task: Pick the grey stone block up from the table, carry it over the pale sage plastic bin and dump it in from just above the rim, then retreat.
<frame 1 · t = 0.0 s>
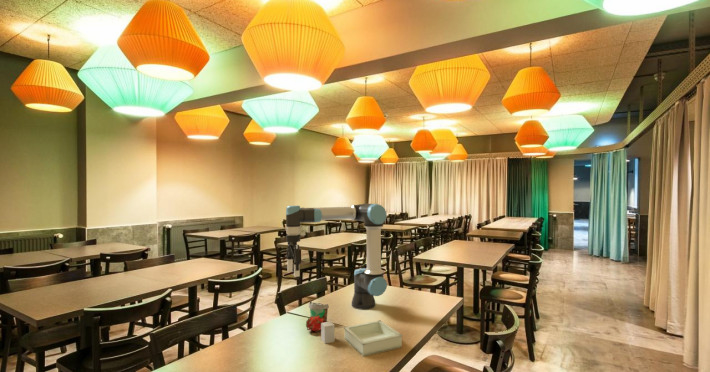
hand: (293, 273, 184), 28 cm above the table, fingers open, 13 cm apart
food container: (316, 322, 190), on the table
stone block: (327, 340, 166), on the table
dragon fruit: (316, 330, 178), on the table
bin: (372, 342, 163), on the table
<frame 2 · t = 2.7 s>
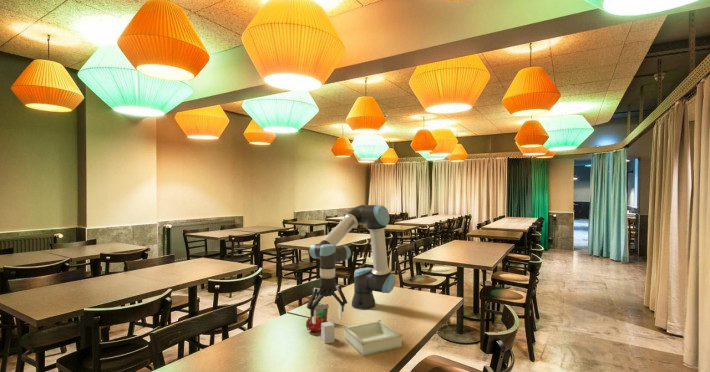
hand: (327, 320, 166), 9 cm above the table, fingers open, 13 cm apart
nothing on the table moved.
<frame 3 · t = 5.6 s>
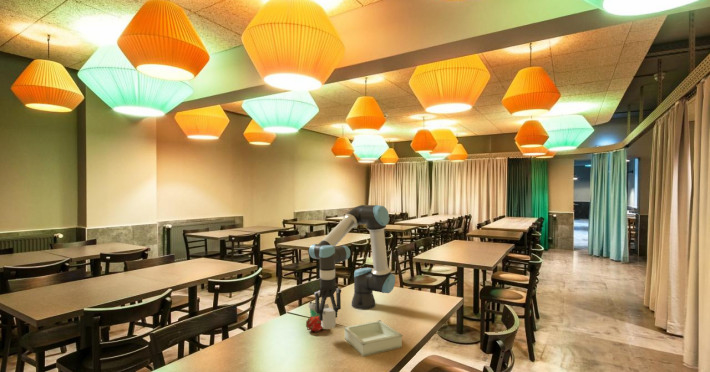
hand: (328, 325, 167), 7 cm above the table, fingers closed on stone block, 5 cm apart
stone block: (328, 326, 167), point 7 cm above the table, touching gripper
everything else where it was.
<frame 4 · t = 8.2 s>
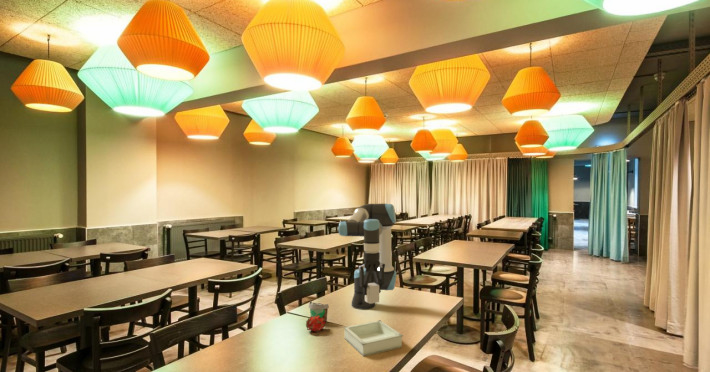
hand: (372, 300, 163), 20 cm above the table, fingers closed on stone block, 5 cm apart
stone block: (372, 301, 163), point 20 cm above the table, touching gripper
everything else where it was.
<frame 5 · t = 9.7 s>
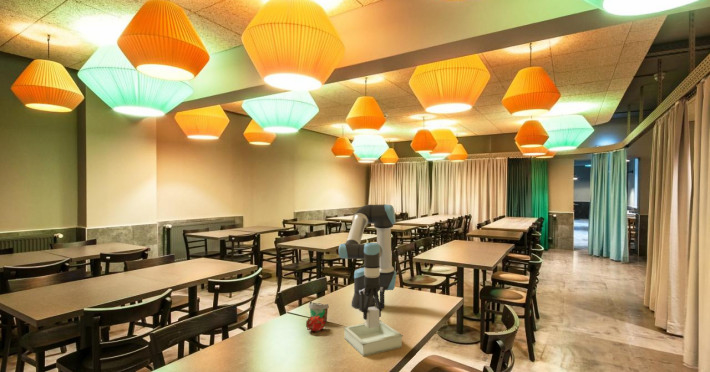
hand: (372, 324, 163), 9 cm above the table, fingers closed on stone block, 5 cm apart
stone block: (372, 325, 163), point 8 cm above the table, touching gripper
everything else where it was.
when the fingers open (5 cm above the table, at t = 11.0 s): stone block drops 4 cm, resting on bin.
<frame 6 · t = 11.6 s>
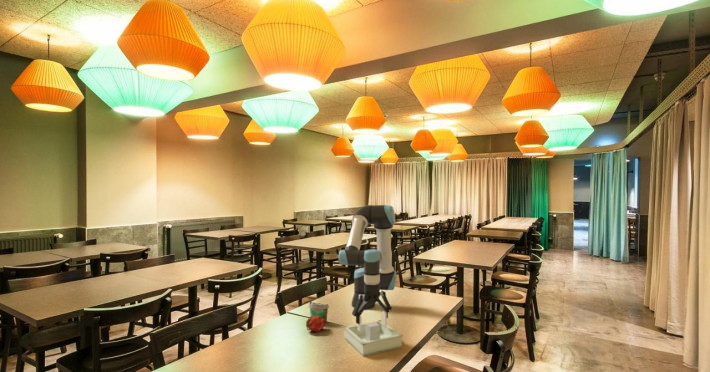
hand: (372, 327, 163), 7 cm above the table, fingers open, 13 cm apart
stone block: (372, 341, 163), point 1 cm above the table, touching bin
everything else where it was.
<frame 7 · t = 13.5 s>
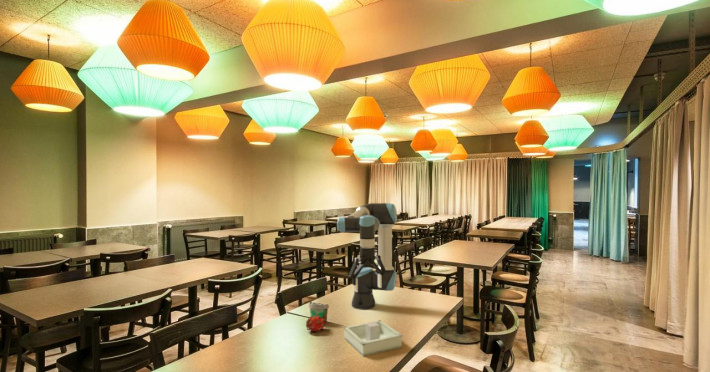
hand: (367, 289, 171), 23 cm above the table, fingers open, 13 cm apart
nothing on the table moved.
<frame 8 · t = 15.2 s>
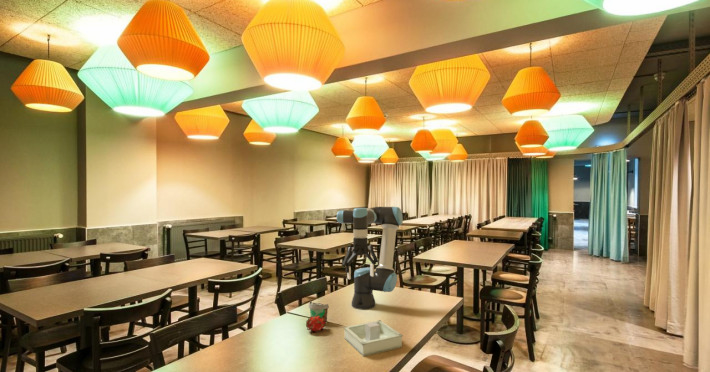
hand: (360, 277, 181), 27 cm above the table, fingers open, 13 cm apart
nothing on the table moved.
at the end: stone block inside the target area on the bin (0.1 cm from its centre), point 0.8 cm above the bin's base; the gripper is holding nothing; stone block point 0.8 cm above the table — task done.
